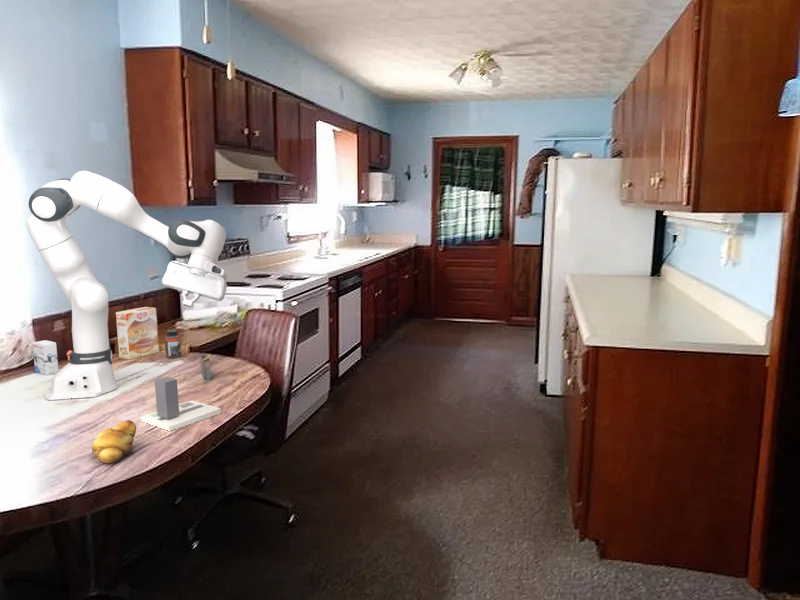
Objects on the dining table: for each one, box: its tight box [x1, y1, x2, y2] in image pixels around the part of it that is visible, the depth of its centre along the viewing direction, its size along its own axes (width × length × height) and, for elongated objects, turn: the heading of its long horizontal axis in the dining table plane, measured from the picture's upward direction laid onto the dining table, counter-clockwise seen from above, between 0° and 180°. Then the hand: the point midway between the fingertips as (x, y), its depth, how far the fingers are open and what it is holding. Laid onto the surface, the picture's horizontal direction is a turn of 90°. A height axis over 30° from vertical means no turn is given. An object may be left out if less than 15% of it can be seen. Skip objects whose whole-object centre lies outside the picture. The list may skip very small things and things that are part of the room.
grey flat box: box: [199, 353, 212, 381], centre depth 226 cm, size 11×3×10 cm, turn 23°
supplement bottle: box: [164, 329, 182, 359], centre depth 253 cm, size 6×6×11 cm
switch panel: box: [140, 399, 222, 432], centre depth 184 cm, size 18×14×2 cm
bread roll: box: [91, 419, 137, 464], centre depth 156 cm, size 13×10×8 cm
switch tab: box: [154, 376, 180, 419], centre depth 179 cm, size 4×5×11 cm
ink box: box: [32, 339, 59, 376], centre depth 232 cm, size 9×5×12 cm, turn 58°
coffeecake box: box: [115, 306, 160, 360], centre depth 256 cm, size 15×7×20 cm, turn 151°
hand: (187, 305), depth 197 cm, fingers closed
